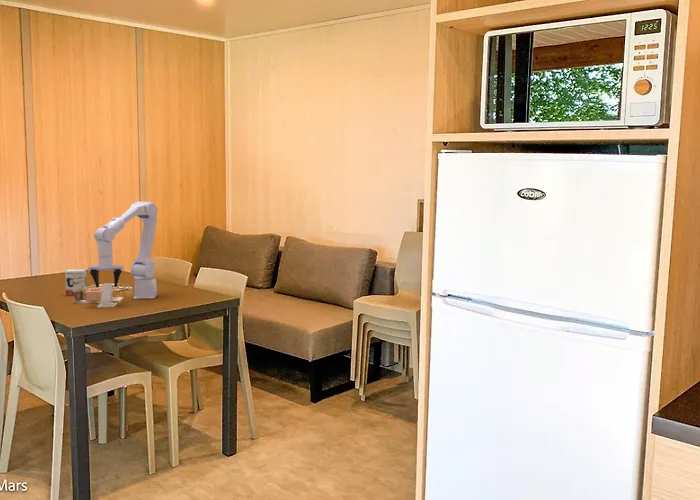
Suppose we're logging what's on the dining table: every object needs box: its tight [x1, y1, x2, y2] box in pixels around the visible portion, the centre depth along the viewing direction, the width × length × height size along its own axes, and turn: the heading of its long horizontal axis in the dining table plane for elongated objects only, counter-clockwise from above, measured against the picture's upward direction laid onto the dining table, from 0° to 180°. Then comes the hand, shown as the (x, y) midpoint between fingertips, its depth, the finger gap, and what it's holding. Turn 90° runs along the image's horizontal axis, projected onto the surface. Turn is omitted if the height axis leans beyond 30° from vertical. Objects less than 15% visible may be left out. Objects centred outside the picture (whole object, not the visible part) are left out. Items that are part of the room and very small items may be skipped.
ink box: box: [64, 268, 88, 297], centre depth 307 cm, size 9×5×12 cm, turn 101°
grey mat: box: [96, 303, 119, 308], centre depth 286 cm, size 7×7×1 cm
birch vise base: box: [71, 287, 125, 305], centre depth 294 cm, size 20×8×6 cm, turn 96°
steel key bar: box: [100, 282, 113, 306], centre depth 285 cm, size 4×4×9 cm
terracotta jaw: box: [86, 287, 102, 301], centre depth 293 cm, size 6×8×4 cm
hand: (106, 286), depth 285 cm, fingers open, 7 cm apart
